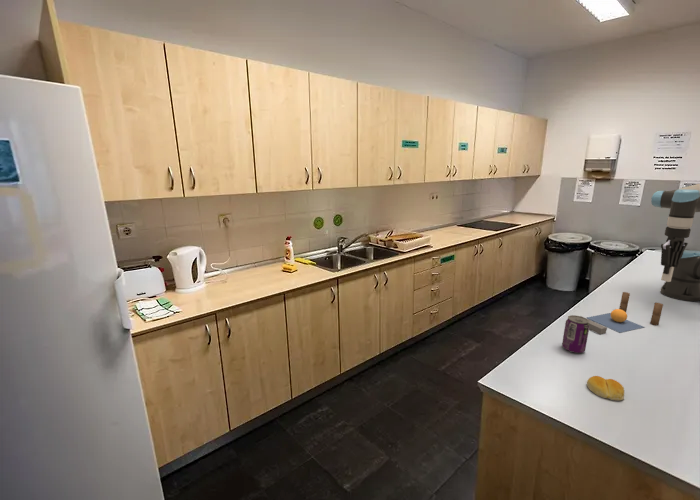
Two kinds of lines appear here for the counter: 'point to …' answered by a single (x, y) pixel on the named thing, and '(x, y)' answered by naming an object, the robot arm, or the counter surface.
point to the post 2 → (656, 314)
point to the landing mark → (614, 323)
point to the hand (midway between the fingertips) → (665, 280)
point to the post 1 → (624, 301)
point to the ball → (618, 315)
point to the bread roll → (606, 388)
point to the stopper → (597, 327)
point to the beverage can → (575, 334)
